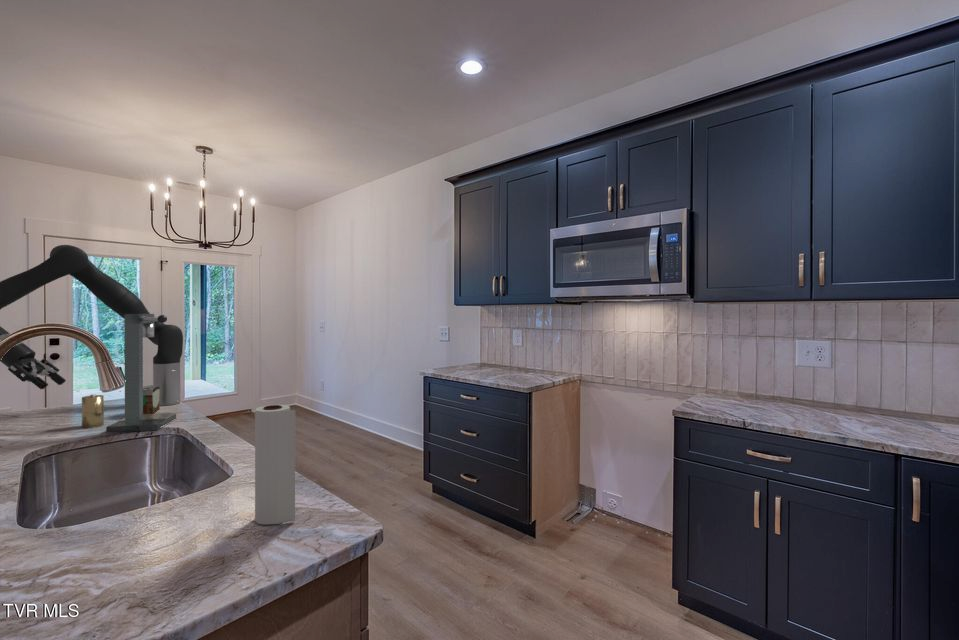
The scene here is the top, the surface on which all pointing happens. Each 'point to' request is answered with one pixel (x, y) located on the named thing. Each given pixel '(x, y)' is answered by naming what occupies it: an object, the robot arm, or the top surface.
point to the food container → (151, 399)
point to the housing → (92, 411)
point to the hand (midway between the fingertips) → (54, 385)
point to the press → (137, 377)
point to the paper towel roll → (274, 464)
